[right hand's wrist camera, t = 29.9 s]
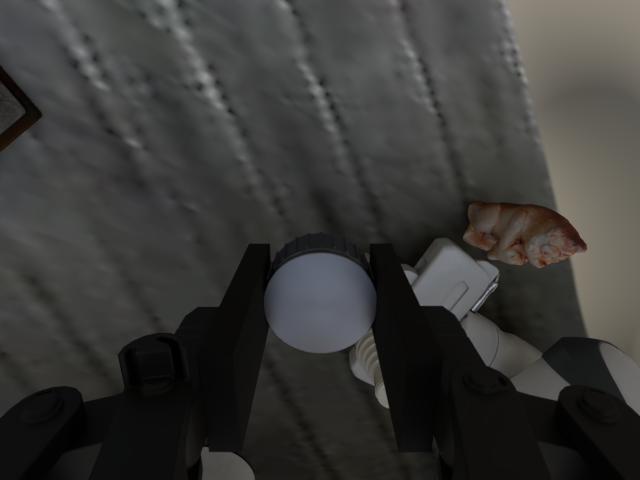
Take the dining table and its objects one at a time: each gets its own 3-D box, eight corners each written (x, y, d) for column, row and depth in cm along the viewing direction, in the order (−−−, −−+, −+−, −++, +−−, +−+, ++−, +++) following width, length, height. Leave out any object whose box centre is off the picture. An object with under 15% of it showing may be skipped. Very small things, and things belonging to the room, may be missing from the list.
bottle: (379, 251, 51) (427, 367, 28) (378, 284, 53) (424, 419, 30) (342, 252, 51) (362, 369, 28) (343, 285, 53) (362, 421, 30)
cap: (248, 258, 14) (238, 281, 12) (345, 212, 14) (349, 230, 12) (298, 339, 15) (295, 370, 14) (388, 300, 15) (398, 328, 13)
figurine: (448, 230, 50) (499, 279, 36) (480, 176, 48) (549, 206, 34) (488, 249, 51) (554, 304, 37) (522, 197, 49) (606, 235, 34)
